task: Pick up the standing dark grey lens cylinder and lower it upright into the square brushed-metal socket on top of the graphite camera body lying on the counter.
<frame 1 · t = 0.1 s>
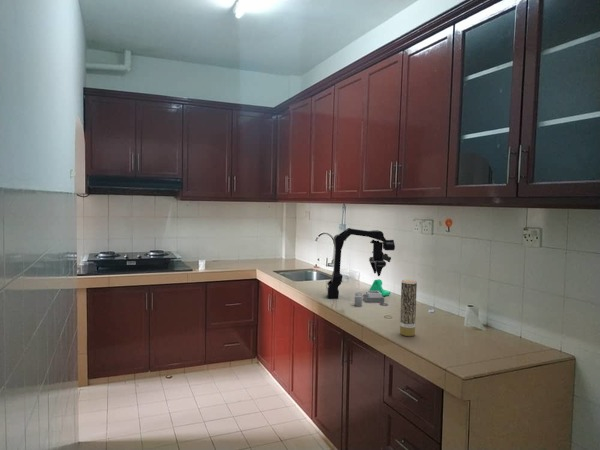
hand: (376, 274, 257), 15 cm above the counter, tool pointing down, fingers open, 9 cm apart
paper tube: (407, 334, 188), on the counter
lens: (358, 305, 237), on the counter
lens cap: (383, 305, 240), on the counter
camera mount: (380, 295, 266), on the counter
camera body: (373, 300, 249), on the counter
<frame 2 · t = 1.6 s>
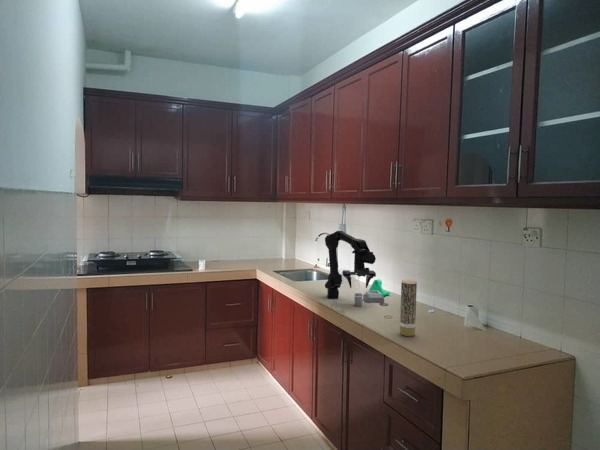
hand: (358, 288, 236), 11 cm above the counter, tool pointing down, fingers open, 9 cm apart
nothing on the counter moved.
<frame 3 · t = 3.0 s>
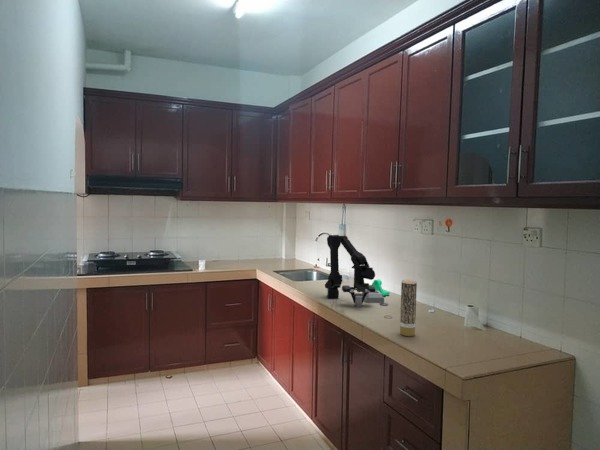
hand: (358, 303, 237), 2 cm above the counter, tool pointing down, fingers closed on lens, 4 cm apart
lens: (358, 305, 237), on the counter, touching gripper
everything else where it was.
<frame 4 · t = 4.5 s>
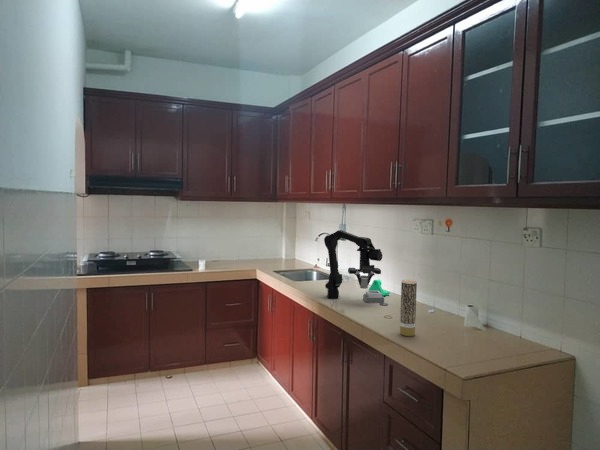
hand: (363, 285, 240), 11 cm above the counter, tool pointing down, fingers closed on lens, 4 cm apart
lens: (363, 287, 240), point 10 cm above the counter, touching gripper
everything else where it was.
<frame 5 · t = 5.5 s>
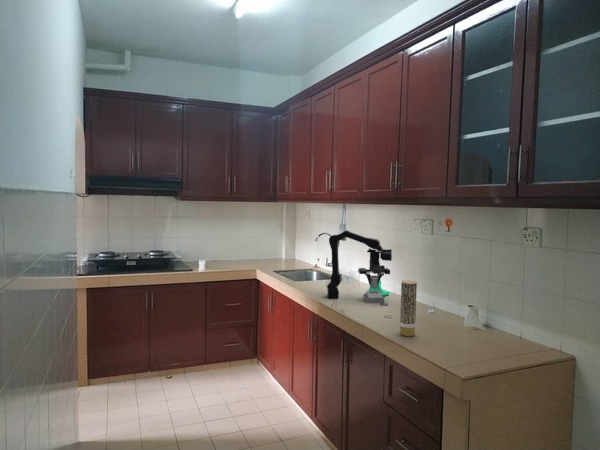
hand: (373, 284, 248), 10 cm above the counter, tool pointing down, fingers closed on lens, 4 cm apart
lens: (373, 287, 248), point 8 cm above the counter, touching gripper
everything else where it was.
when the fingers open (6 cm above the counter, at t = 6.4 s): lens drops 2 cm, resting on camera body.
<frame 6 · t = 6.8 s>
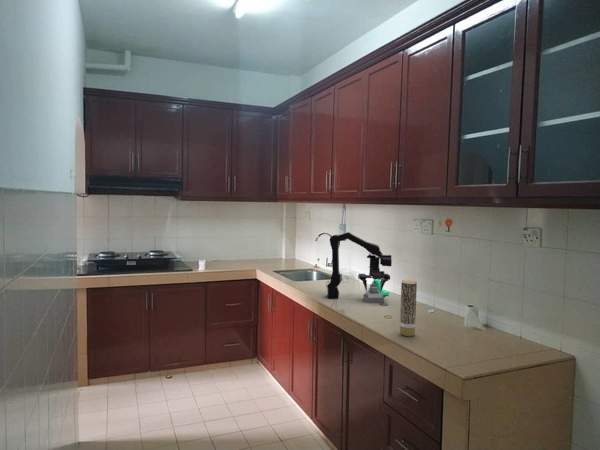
hand: (373, 290, 248), 6 cm above the counter, tool pointing down, fingers open, 9 cm apart
lens: (373, 296, 248), point 3 cm above the counter, touching camera body
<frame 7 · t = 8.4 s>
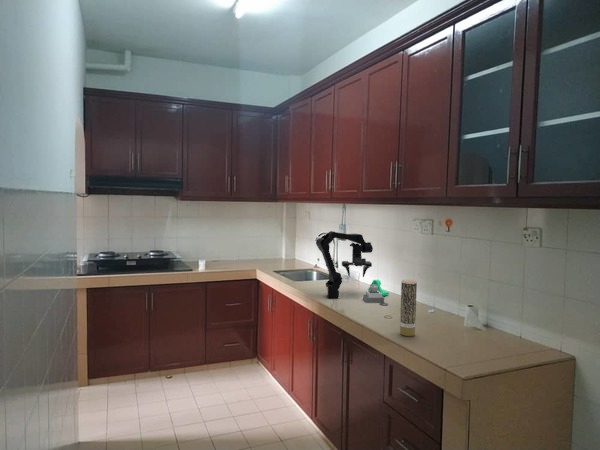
hand: (356, 277, 262), 12 cm above the counter, tool pointing down, fingers open, 9 cm apart
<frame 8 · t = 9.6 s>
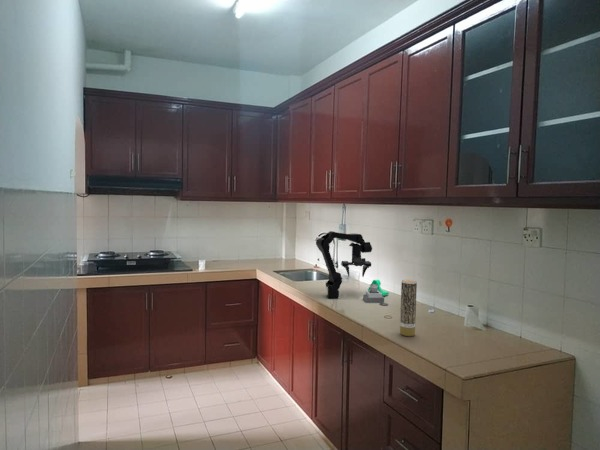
hand: (355, 276, 262), 12 cm above the counter, tool pointing down, fingers open, 9 cm apart
at the end: lens 0.1 cm off-centre on the camera body, point 3.0 cm above the camera body's base; lens tilted 1°; the gripper is holding nothing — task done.
